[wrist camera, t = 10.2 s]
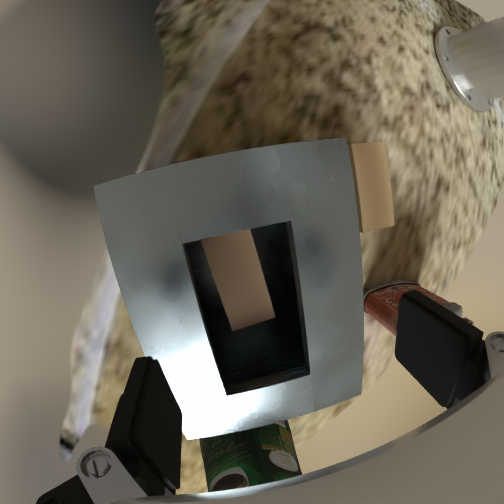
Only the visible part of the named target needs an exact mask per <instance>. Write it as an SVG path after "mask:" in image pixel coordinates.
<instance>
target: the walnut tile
mask: <svg viewBox="0 0 504 504" xmlns="http://www.w3.org/2000/svg"><path fill="white" fill-rule="evenodd" d="M201 242H202V245H203V248H204V251H205V254H206V257H207V260H208V263H209V266H210V269H211V272H212V275H213V278H214V280H215V283H216V286H217V289H218V292H219V295H220V297H221V300H222V303H223V306H224V309H225V311H226V314H227V317H228V319H229V322H230V325H231V328H232V330H233V331H235V330H239V329H242V328H245V327H248V326H251V325H254V324H257V323H260V322H263V321H266V320H269V319H272V318H275V314H274V310H273V307H272V303H271V300H270V296H269V293H268V289H267V286H266V282H265V279H264V275H263V272H262V268H261V265H260V261H259V258H258V254H257V251H256V248H255V244H254V241H253V237H252V234H251V230H250V229H247V230H243V231H238V232H233V233H229V234H224V235H219V236H215V237H210V238H206V239H201Z"/></svg>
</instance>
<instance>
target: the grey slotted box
mask: <svg viewBox="0 0 504 504" xmlns="http://www.w3.org/2000/svg"><path fill="white" fill-rule="evenodd" d="M94 192H95V197H96V201H97V206H98V211H99V216H100V220H101V224H102V228H103V232H104V236H105V240H106V244H107V248H108V251H109V255H110V258H111V262H112V265H113V268H114V272H115V275H116V278H117V281H118V285H119V288H120V291H121V294H122V297H123V299H124V302H125V305H126V308H127V311H128V314H129V316H130V319H131V322H132V324H133V327H134V329H135V332H136V335H137V337H138V340H139V342H140V344H141V347H142V349H143V352H144V354H145V356H146V357H147V356H151V357H152V358H153V359H157V360H158V361H159V363H160V366H161V368H162V370H163V372H164V375H165V377H166V379H167V381H168V383H169V385H170V388H171V390H172V392H173V394H174V396H175V398H176V400H177V402H178V404H179V406H180V408H181V411H182V415H183V423H182V431H183V433H184V434H185V436H186V438H187V440H189V439H196V438H204V437H210V436H217V435H222V434H228V433H233V432H238V431H243V430H248V429H252V428H257V427H261V426H265V425H269V424H273V423H277V422H281V421H284V420H288V419H292V418H295V417H298V416H302V415H305V414H308V413H311V412H314V411H317V410H320V409H323V408H326V407H329V406H332V405H335V404H337V403H340V402H343V401H345V400H348V399H351V398H353V397H356V396H358V395H361V389H362V372H363V345H364V302H363V274H362V257H361V243H360V232H359V221H358V212H357V203H356V195H355V188H354V181H353V174H352V167H351V161H350V155H349V149H348V144H347V139H346V138H335V139H323V140H313V141H303V142H295V143H287V144H279V145H272V146H265V147H258V148H252V149H245V150H239V151H234V152H228V153H223V154H217V155H212V156H207V157H202V158H198V159H193V160H189V161H184V162H180V163H175V164H171V165H167V166H163V167H159V168H155V169H151V170H147V171H144V172H140V173H136V174H133V175H129V176H126V177H122V178H119V179H115V180H112V181H109V182H106V183H103V184H99V185H96V186H94ZM247 229H250V230H251V234H252V237H253V241H254V244H255V248H256V251H257V254H258V258H259V261H260V265H261V268H262V272H263V275H264V279H265V282H266V286H267V289H268V293H269V296H270V300H271V303H272V307H273V310H274V314H275V318H272V319H269V320H266V321H263V322H260V323H257V324H254V325H251V326H248V327H245V328H242V329H239V330H235V331H233V330H232V328H231V325H230V322H229V319H228V317H227V314H226V311H225V309H224V306H223V303H222V300H221V297H220V295H219V292H218V289H217V286H216V283H215V280H214V278H213V275H212V272H211V269H210V266H209V263H208V260H207V257H206V254H205V251H204V248H203V245H202V242H201V239H206V238H210V237H215V236H219V235H224V234H229V233H233V232H238V231H243V230H247Z"/></svg>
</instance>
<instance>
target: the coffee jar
mask: <svg viewBox="0 0 504 504" xmlns="http://www.w3.org/2000/svg"><path fill="white" fill-rule="evenodd" d="M199 439H200V446H201V452H202V458H203V462H204V468H205V474H206V481H207V487H208V492H216V491H224V490H231V489H238V488H244V487H250V486H256V485H261V484H266V483H271V482H276V481H280V480H284V479H288V478H292V477H296V476H300V475H302V472H301V469H300V466H299V462H298V459H297V455H296V451H295V447H294V443H293V439H292V435H291V431H290V427H289V423H288V420H284V421H281V422H277V423H273V424H269V425H265V426H261V427H257V428H252V429H248V430H243V431H238V432H233V433H228V434H222V435H217V436H210V437H204V438H199Z"/></svg>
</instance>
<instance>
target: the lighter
mask: <svg viewBox="0 0 504 504" xmlns="http://www.w3.org/2000/svg"><path fill="white" fill-rule="evenodd" d="M414 289H415V290H418V291H419V292H421V293H423V294H424V295H426V296H428V297H429V298H431V299H432V300H434V301H436V302H437V303H439V304H441V305H442V306H444V307H445V308H447V309H448V310H450V311H452V312H453V313H455V314H456V315H458V316H459V317H461V316H462V307H461V306H460V305H458V304H456V303H454V302H448V301H446V300H445V299H443V298H441V297H439V296H437V295H435V294H434V293H432V292H430V291H428V290H426V289H424V288H422V287H421V286H420V284H419V283H417V282H415V281H413V280H404V279H402V280H390V281H386V282H381V283H378V284H375V285H372V286H369V287H367V288H365V289H364V290H363V302H364V313H365V314H368V315H371V316H372V317H373V318H374V319H376V320H377V321H378V322H379V323H380V324H382V325H383V326H384V327H385V328H386V329H388V330H389V331H390V332H391V333H392V334H394V335H395V336H396V334H397V322H398V305H399V299H400V298H401V296H402V294H403V293H406V292H408V291H411V290H414ZM463 319H464V320H466V321H467V322H469V323H470V324H472V325H473V321H471V320H469V319H467V318H466V317H465V318H463ZM473 326H474V325H473Z"/></svg>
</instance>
